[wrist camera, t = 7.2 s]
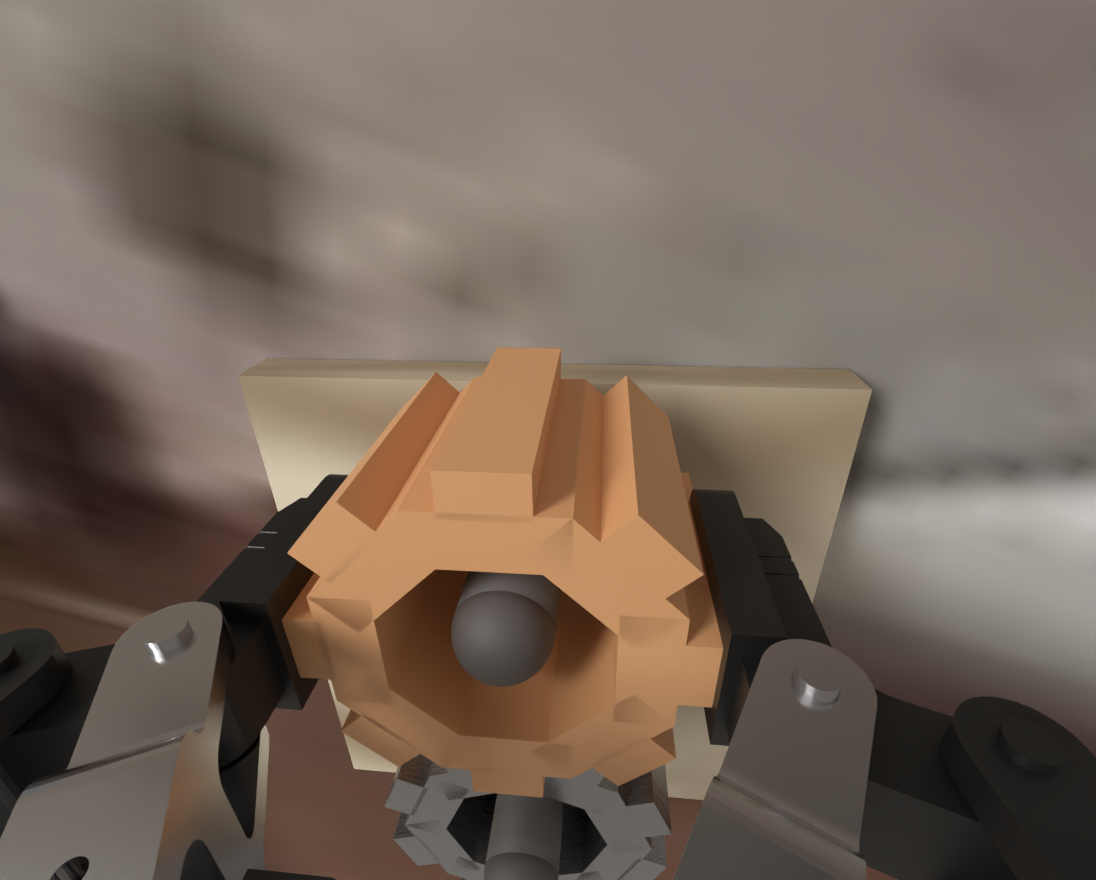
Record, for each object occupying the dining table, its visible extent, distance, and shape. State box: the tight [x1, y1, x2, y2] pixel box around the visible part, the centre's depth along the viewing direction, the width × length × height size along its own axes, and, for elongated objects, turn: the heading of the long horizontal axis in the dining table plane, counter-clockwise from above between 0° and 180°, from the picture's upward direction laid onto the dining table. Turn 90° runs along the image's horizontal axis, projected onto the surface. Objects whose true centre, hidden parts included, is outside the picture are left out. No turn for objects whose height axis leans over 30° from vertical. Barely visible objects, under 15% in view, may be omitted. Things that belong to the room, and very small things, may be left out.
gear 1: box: [282, 348, 723, 798], centre depth 10 cm, size 6×6×4 cm
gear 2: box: [384, 754, 672, 880], centre depth 14 cm, size 6×6×4 cm
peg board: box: [238, 358, 872, 880], centre depth 14 cm, size 15×14×7 cm
